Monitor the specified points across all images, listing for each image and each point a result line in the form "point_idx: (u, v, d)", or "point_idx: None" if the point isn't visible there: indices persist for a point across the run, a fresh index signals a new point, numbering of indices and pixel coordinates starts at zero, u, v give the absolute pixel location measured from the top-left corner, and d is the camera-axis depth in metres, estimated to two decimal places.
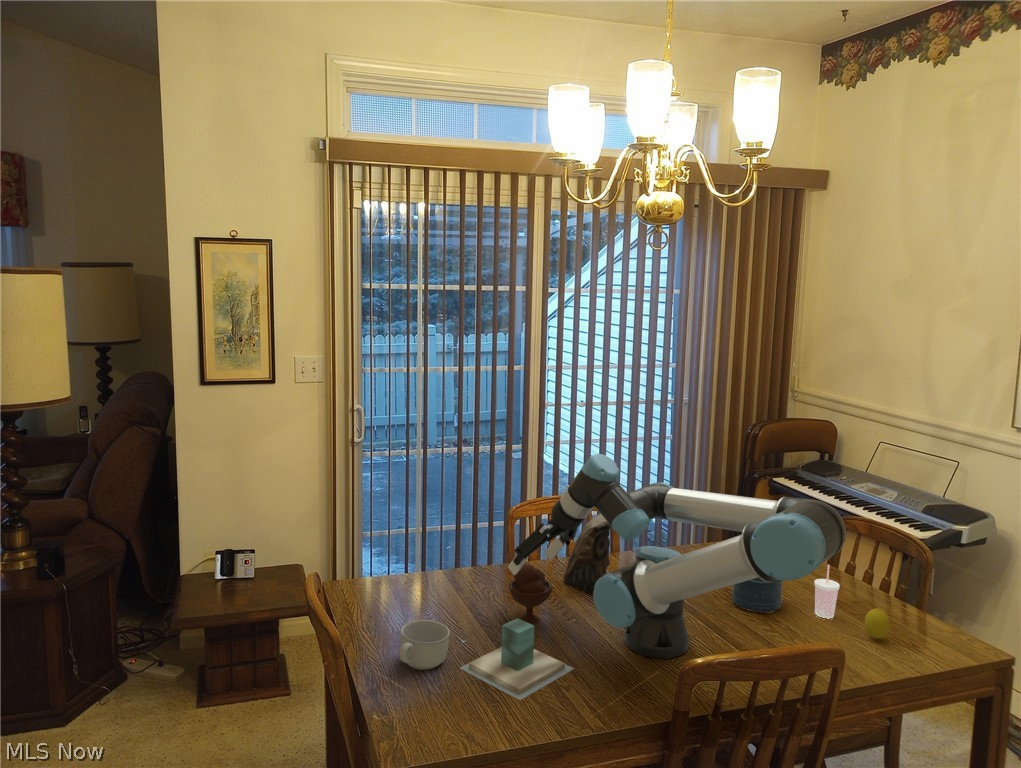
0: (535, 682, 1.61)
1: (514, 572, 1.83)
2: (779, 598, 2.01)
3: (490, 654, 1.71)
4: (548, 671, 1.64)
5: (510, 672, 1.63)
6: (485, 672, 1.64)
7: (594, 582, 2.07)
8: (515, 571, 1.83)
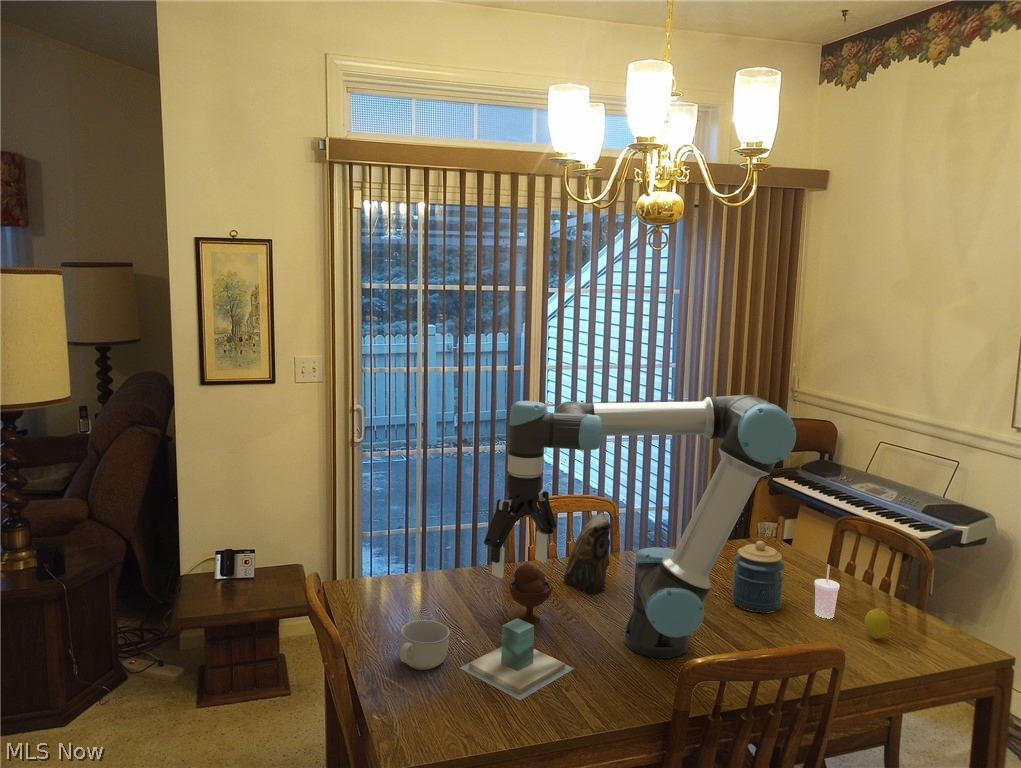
0: (535, 682, 1.61)
1: (499, 575, 1.60)
2: (779, 598, 2.01)
3: (490, 654, 1.71)
4: (548, 671, 1.64)
5: (510, 672, 1.63)
6: (485, 672, 1.64)
7: (594, 582, 2.07)
8: (499, 572, 1.60)
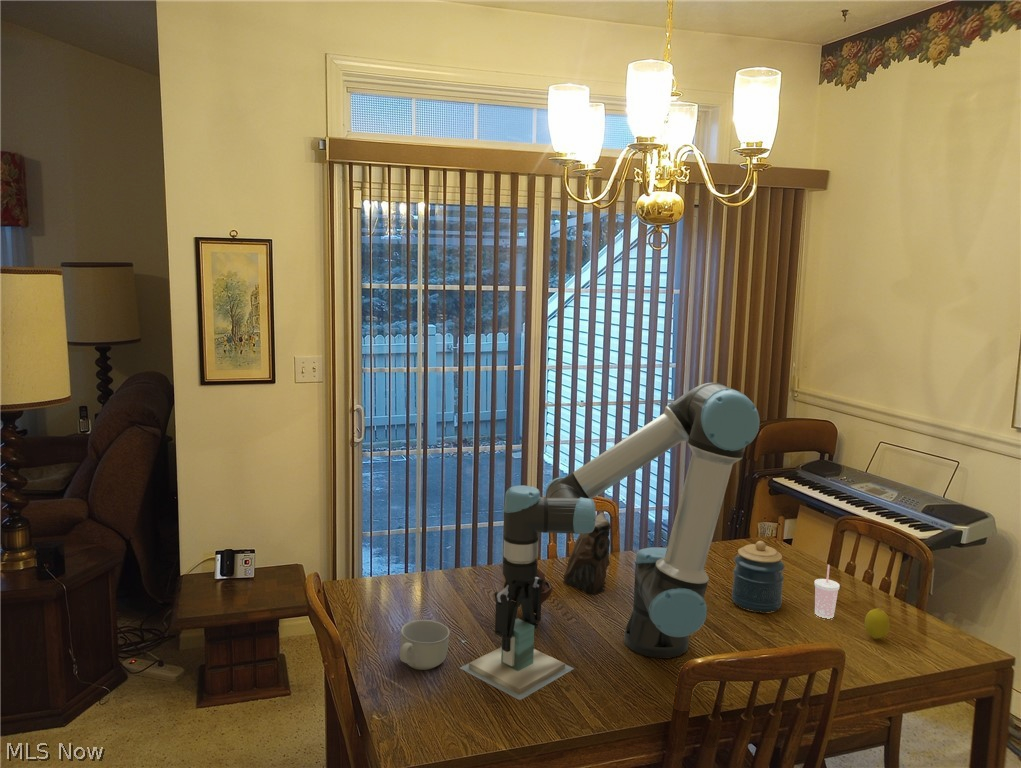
0: (535, 682, 1.61)
1: (510, 663, 1.64)
2: (779, 598, 2.01)
3: (490, 654, 1.71)
4: (548, 671, 1.64)
5: (510, 672, 1.63)
6: (485, 672, 1.64)
7: (594, 582, 2.07)
8: (510, 661, 1.64)
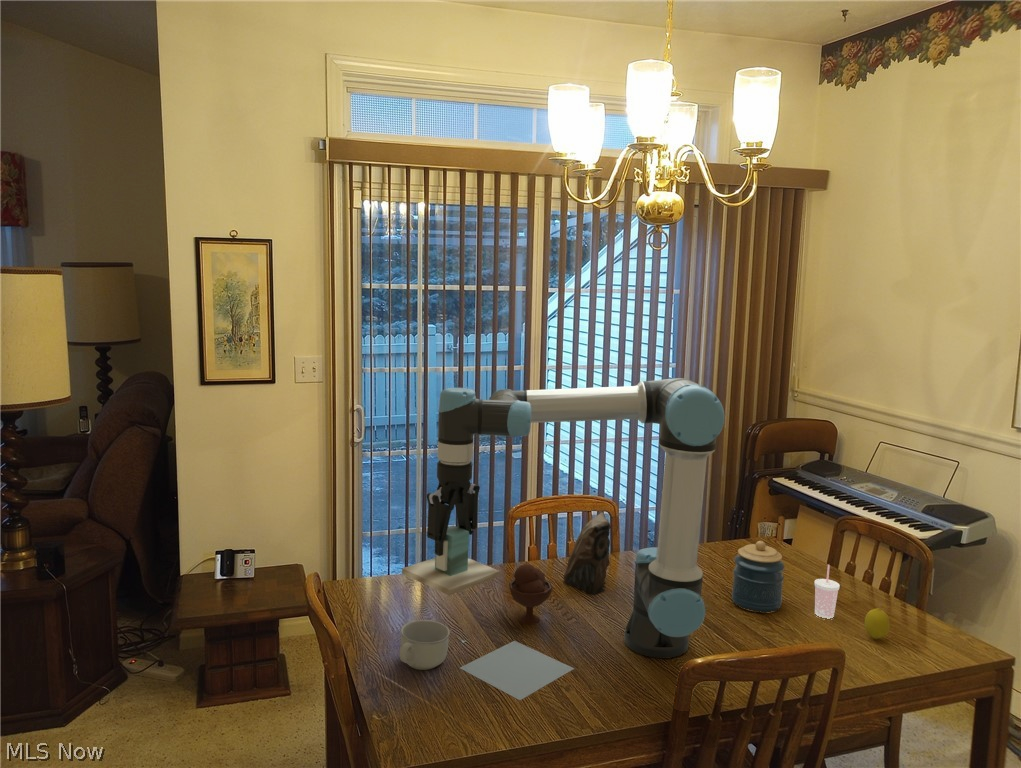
0: (466, 585, 1.58)
1: (443, 568, 1.62)
2: (779, 598, 2.01)
3: (425, 562, 1.68)
4: (481, 576, 1.62)
5: (442, 576, 1.61)
6: (417, 576, 1.61)
7: (594, 582, 2.07)
8: (443, 565, 1.61)
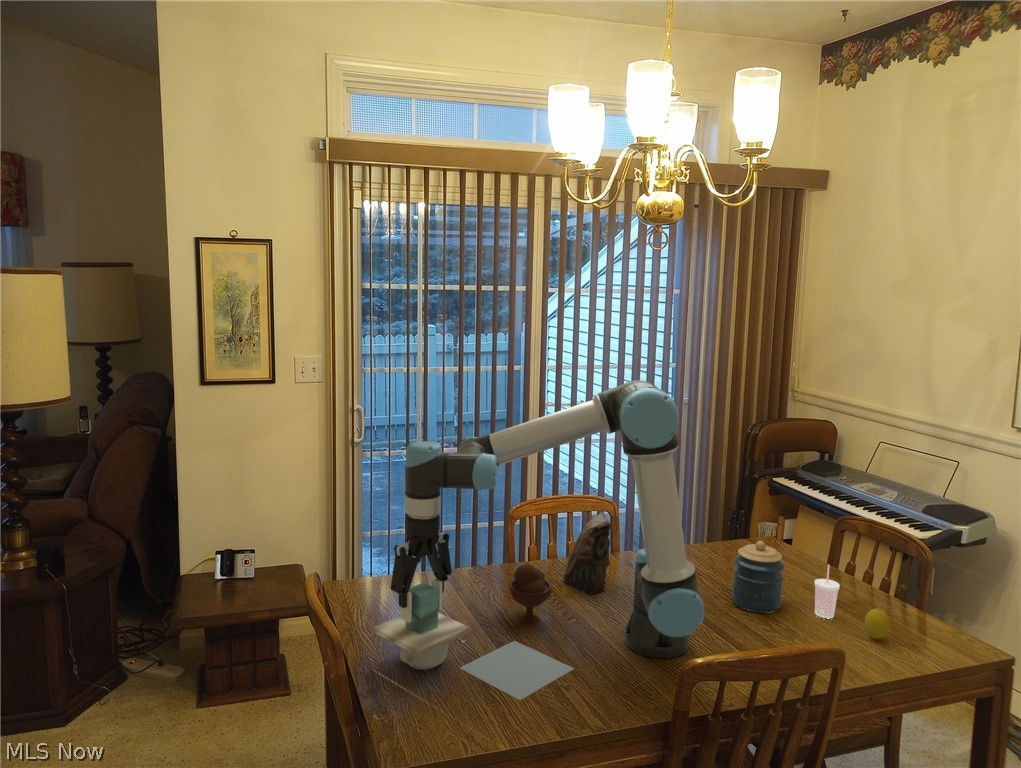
0: (436, 645, 1.60)
1: (407, 619, 1.62)
2: (779, 598, 2.01)
3: (396, 619, 1.70)
4: (451, 634, 1.64)
5: (412, 635, 1.63)
6: (387, 635, 1.63)
7: (594, 582, 2.07)
8: (407, 617, 1.62)
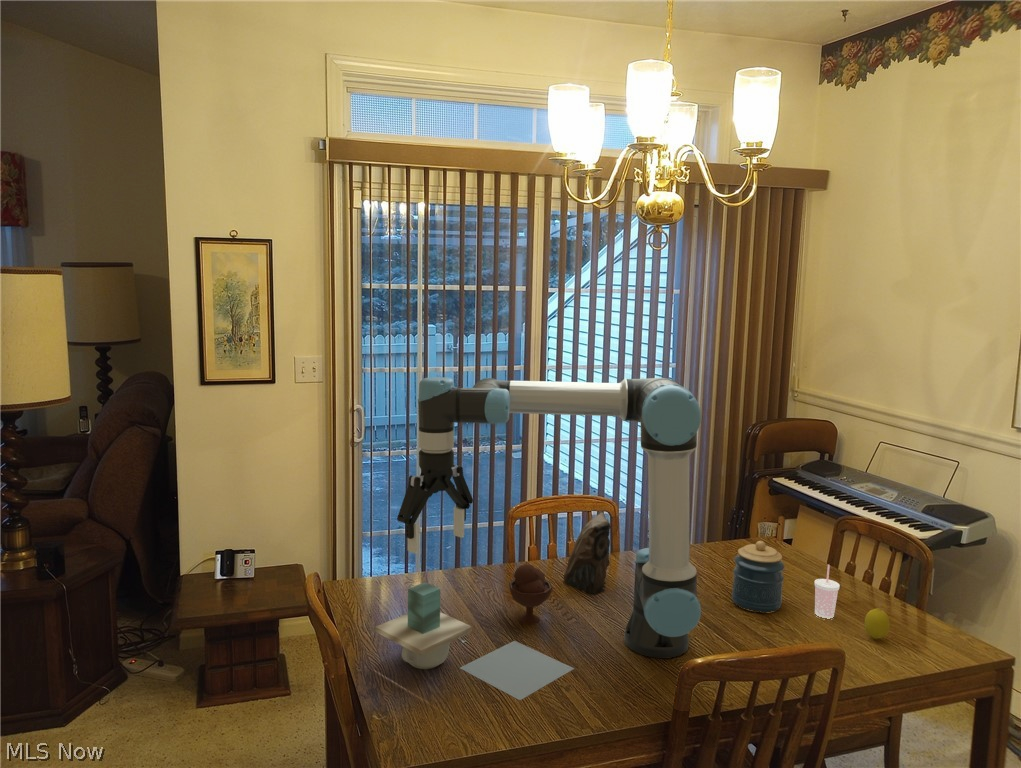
0: (438, 644, 1.61)
1: (414, 551, 1.61)
2: (779, 598, 2.01)
3: (398, 618, 1.71)
4: (453, 634, 1.64)
5: (415, 635, 1.63)
6: (390, 635, 1.63)
7: (594, 582, 2.07)
8: (414, 548, 1.61)
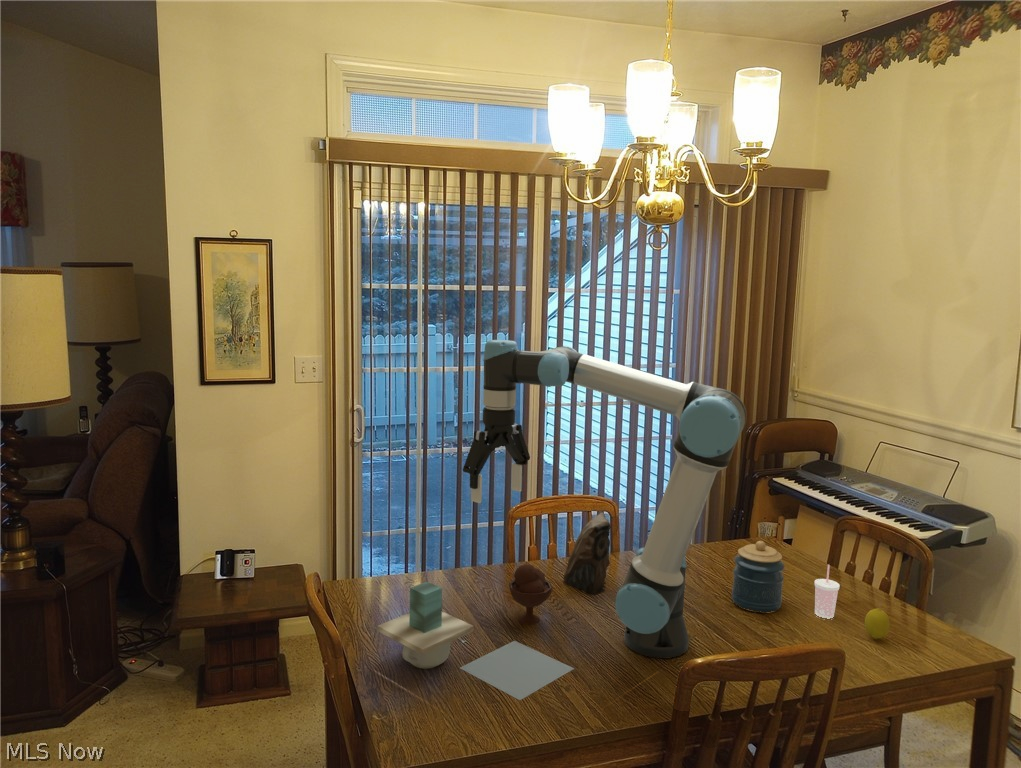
0: (440, 643, 1.61)
1: (478, 500, 1.73)
2: (779, 598, 2.01)
3: (400, 618, 1.71)
4: (455, 633, 1.65)
5: (416, 634, 1.64)
6: (391, 634, 1.64)
7: (594, 582, 2.07)
8: (478, 498, 1.73)
